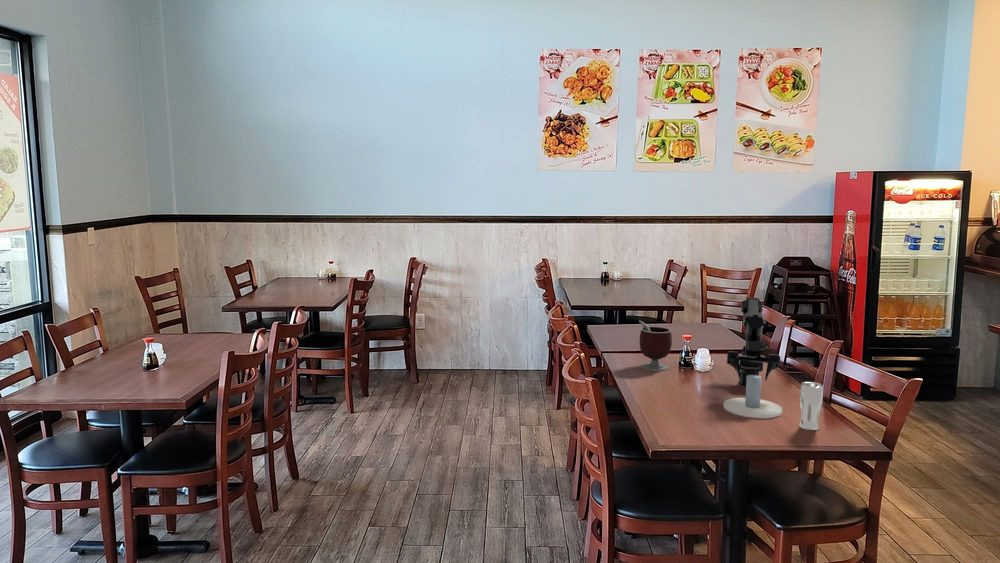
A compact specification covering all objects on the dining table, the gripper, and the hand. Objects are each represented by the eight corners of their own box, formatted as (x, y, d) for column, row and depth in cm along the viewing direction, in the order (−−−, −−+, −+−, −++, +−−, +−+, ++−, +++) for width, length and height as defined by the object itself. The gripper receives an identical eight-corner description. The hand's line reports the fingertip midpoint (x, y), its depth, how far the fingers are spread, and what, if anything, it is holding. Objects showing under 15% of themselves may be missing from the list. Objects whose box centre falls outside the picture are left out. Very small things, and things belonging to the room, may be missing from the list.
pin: (748, 403, 257) (749, 374, 255) (761, 405, 253) (763, 376, 252) (742, 406, 253) (744, 376, 251) (756, 409, 250) (758, 379, 248)
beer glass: (807, 432, 231) (810, 388, 228) (793, 425, 237) (796, 382, 235) (825, 430, 232) (828, 386, 230) (810, 423, 239) (813, 380, 237)
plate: (764, 399, 264) (764, 396, 264) (793, 417, 245) (793, 414, 245) (714, 401, 262) (714, 398, 262) (738, 419, 242) (739, 416, 242)
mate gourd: (676, 367, 310) (678, 322, 307) (660, 373, 300) (662, 327, 297) (645, 360, 320) (647, 318, 317) (629, 366, 310) (631, 322, 307)
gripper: (728, 330, 265) (727, 365, 256) (781, 333, 259) (781, 370, 250) (727, 345, 273) (726, 380, 265) (778, 349, 268) (778, 385, 259)
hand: (752, 379), depth 259 cm, fingers open, 9 cm apart
